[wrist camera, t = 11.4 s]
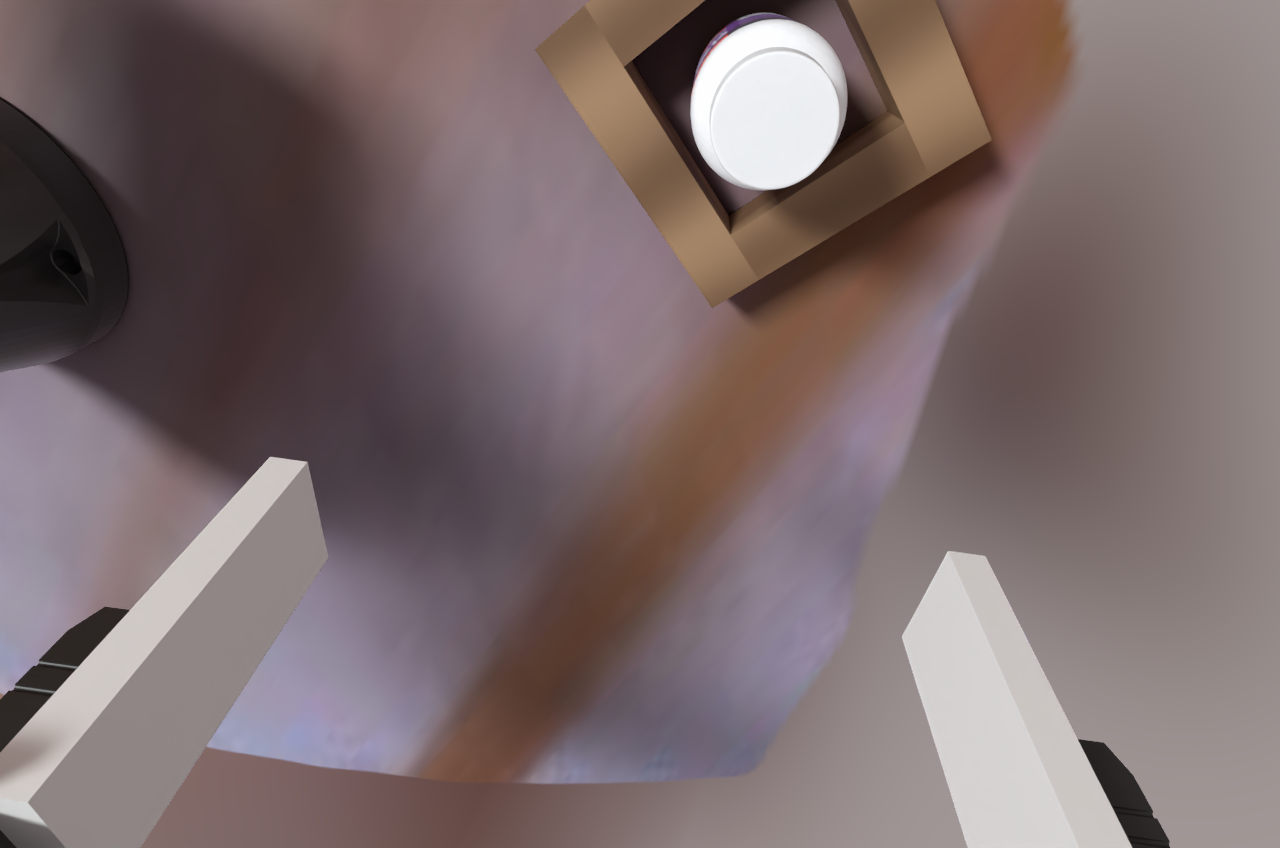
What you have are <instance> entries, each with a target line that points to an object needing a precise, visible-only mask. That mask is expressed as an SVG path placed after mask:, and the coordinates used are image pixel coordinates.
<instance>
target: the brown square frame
mask: <svg viewBox="0 0 1280 848" xmlns="http://www.w3.org/2000/svg"><path fill="white" fill-rule="evenodd" d="M704 1H705V0H590V1H589V2H588V3H587V4H586V5H584V6H583V7H582V8H581V9H580V10H579V11H578V12H577V13H575V14H574V15H573V16H572V17H571V18H570V19H569V20H568V21H566V22H565V23H564V24H563V25H562V26H561V27H560V28H559V29H557V30H556V31H555V32H554V33H553V34H552V35H551V36H550V37H548V38H547V39H546V40H545V41H544V42H543V43H542V44H541V45H539V46H538V47H537V48H536V49H535V50H536V52H537V53H538V55H539V56H540V58H541V59H542V61H543V62H544V63H545V65H546V66H547V68H548V69H549V71H550V72H551V74H552V75H553V77H554V78H555V79H556V81H557V82H558V84H559V85H560V87H561V88H562V90H563V91H564V93H565V94H566V96H567V97H568V98H569V100H570V101H571V103H572V104H573V106H574V107H575V109H576V110H577V112H578V113H579V114H580V116H581V117H582V119H583V120H584V122H585V123H586V125H587V126H588V128H589V129H590V130H591V132H592V133H593V135H594V136H595V138H596V139H597V141H598V142H599V144H600V145H601V147H602V148H603V149H604V151H605V152H606V154H607V155H608V157H609V158H610V160H611V161H612V163H613V164H614V165H615V167H616V168H617V170H618V171H619V173H620V174H621V176H622V177H623V179H624V180H625V182H626V183H627V184H628V186H629V187H630V189H631V190H632V192H633V193H634V195H635V196H636V198H637V199H638V200H639V202H640V203H641V205H642V206H643V208H644V209H645V211H646V212H647V214H648V215H649V216H650V218H651V219H652V221H653V222H654V224H655V225H656V227H657V228H658V230H659V231H660V233H661V234H662V235H663V237H664V238H665V240H666V241H667V243H668V244H669V246H670V247H671V249H672V250H673V251H674V253H675V254H676V256H677V257H678V259H679V260H680V262H681V263H682V265H683V266H684V267H685V269H686V270H687V272H688V273H689V275H690V276H691V278H692V279H693V281H694V282H695V284H696V285H697V286H698V288H699V289H700V291H701V292H702V294H703V295H704V297H705V298H706V300H707V301H708V302H709V304H710V305H711V307H712V308H713V307H715V306H717V305H718V304H720V303H722V302H723V301H725V300H727V299H728V298H730V297H732V296H733V295H735V294H736V293H738V292H740V291H741V290H743V289H745V288H746V287H748V286H750V285H751V284H753V283H755V282H756V281H758V280H760V279H761V278H763V277H765V276H766V275H768V274H770V273H771V272H773V271H775V270H776V269H778V268H780V267H781V266H783V265H785V264H786V263H788V262H790V261H791V260H793V259H795V258H796V257H798V256H800V255H801V254H803V253H805V252H806V251H808V250H810V249H811V248H813V247H815V246H816V245H818V244H820V243H821V242H823V241H825V240H826V239H828V238H830V237H831V236H833V235H835V234H836V233H838V232H840V231H841V230H843V229H845V228H846V227H848V226H850V225H851V224H853V223H855V222H856V221H858V220H860V219H861V218H863V217H865V216H866V215H868V214H870V213H871V212H873V211H875V210H876V209H878V208H880V207H881V206H883V205H885V204H886V203H888V202H889V201H891V200H893V199H894V198H896V197H898V196H899V195H901V194H903V193H904V192H906V191H908V190H909V189H911V188H913V187H914V186H916V185H918V184H919V183H921V182H923V181H924V180H926V179H928V178H929V177H931V176H933V175H934V174H936V173H938V172H939V171H941V170H943V169H944V168H946V167H948V166H949V165H951V164H953V163H954V162H956V161H958V160H959V159H961V158H963V157H964V156H966V155H968V154H969V153H971V152H973V151H974V150H976V149H978V148H979V147H981V146H983V145H984V144H986V143H988V142H989V141H991V140H992V139H991V136H990V134H989V131H988V129H987V126H986V124H985V121H984V119H983V117H982V114H981V112H980V109H979V107H978V104H977V102H976V99H975V97H974V94H973V92H972V89H971V87H970V85H969V82H968V80H967V77H966V75H965V72H964V70H963V67H962V65H961V62H960V60H959V58H958V55H957V53H956V50H955V48H954V45H953V43H952V40H951V38H950V35H949V33H948V30H947V28H946V26H945V23H944V21H943V18H942V16H941V13H940V11H939V8H938V6H937V3H936V1H935V0H836V2H837V4H838V7H839V9H840V11H841V13H842V15H843V17H844V19H845V21H846V24H847V26H848V28H849V30H850V32H851V34H852V36H853V38H854V41H855V43H856V45H857V47H858V49H859V51H860V53H861V55H862V57H863V60H864V62H865V64H866V66H867V68H868V70H869V72H870V74H871V77H872V79H873V81H874V83H875V85H876V87H877V89H878V91H879V94H880V96H881V98H882V100H883V102H884V104H885V106H886V108H887V112H886V113H884V114H883V115H881V116H880V117H878V118H877V119H875V120H874V121H872V122H871V123H869V124H868V125H866V126H864V127H863V128H861V129H860V130H858V131H857V132H855V133H854V134H852V135H851V136H849V137H848V138H846V139H845V140H843V141H842V142H840V143H839V144H837V145H836V146H834V147H833V149H832V151H831V152H830V154H829V155H828V156H827V158H826V159H825V160H824V161H823V162H822V163H821V165H820V166H819V167H818V168H817V169H816V170H815V171H814V172H813V173H812V174H810V175H809V176H808V177H806V178H805V179H803V180H801V181H800V182H798V183H796V184H793V185H791V186H788V187H785V188H781V189H774V190H767V191H766V192H764V193H763V194H761V195H760V196H758V197H757V198H755V199H753V200H752V201H750V202H749V203H747V204H746V205H744V206H743V207H741V208H740V209H738V210H737V211H735V212H734V213H732V214H731V215H728V214H727V212H726V211H725V209H724V207H723V206H722V204H721V203H720V201H719V199H718V198H717V196H716V195H715V193H714V191H713V190H712V188H711V187H710V185H709V183H708V182H707V180H706V179H705V177H704V175H703V174H702V172H701V171H700V169H699V168H698V166H697V164H696V163H695V161H694V160H693V158H692V156H691V155H690V153H689V152H688V150H687V148H686V147H685V145H684V144H683V142H682V140H681V139H680V137H679V136H678V134H677V132H676V131H675V129H674V128H673V126H672V124H671V123H670V121H669V120H668V118H667V116H666V115H665V113H664V112H663V110H662V108H661V107H660V105H659V104H658V102H657V100H656V99H655V97H654V96H653V94H652V92H651V91H650V89H649V88H648V86H647V85H646V83H645V81H644V80H643V78H642V77H641V75H640V73H639V72H638V70H637V69H636V67H635V65H634V64H633V62H632V60H633V59H634V58H635V57H637V56H638V55H639V54H640V53H641V52H643V51H644V50H645V49H646V48H648V47H649V46H650V45H651V44H652V43H654V42H655V41H656V40H657V39H659V38H660V37H661V36H662V35H663V34H665V33H666V32H667V31H668V30H670V29H671V28H672V27H673V26H674V25H676V24H677V23H678V22H679V21H681V20H682V19H683V18H684V17H685V16H687V15H688V14H689V13H690V12H692V11H693V10H694V9H695V8H696V7H698V6H699V5H700V4H701V3H703V2H704Z"/></svg>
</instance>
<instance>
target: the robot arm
mask: <svg viewBox="0 0 1280 848" xmlns="http://www.w3.org/2000/svg"><path fill="white" fill-rule="evenodd" d="M127 294H128V272H127V265H126V260H125V256H124V252H123V248H122V245H121V242H120V239H119V237H118V234H117V232H116V229H115V227H114V225H113V222H112V220H111V218H110V216H109V214H108V212H107V211H106V209H105V207H104V205H103V204H102V202H101V200H100V199H99V197H98V196H97V194H96V192H95V191H94V189H93V188H92V187H91V185H90V184H89V182H88V181H87V180H86V178H85V177H84V176H83V174H82V173H81V172H80V171H79V169H78V168H77V167H76V166H75V165H74V163H73V162H72V161H71V160H70V159H69V158H68V156H67V155H66V154H65V153H64V152H63V151H62V150H61V149H60V148H59V147H58V146H57V145H56V144H55V143H54V142H53V141H52V140H51V139H50V138H49V137H48V136H47V135H46V134H45V133H44V132H42V131H41V130H40V129H39V128H38V127H37V126H36V125H34V124H33V123H32V122H31V121H29V120H28V119H27V118H26V117H25V116H23V115H22V114H21V113H19V112H18V111H17V110H15V109H14V108H12V107H11V106H10V105H8V104H7V103H5V102H4V101H2V100H1V99H0V372H3V371H9V370H14V369H20V368H25V367H30V366H36V365H41V364H46V363H50V362H54V361H57V360H60V359H63V358H65V357H68V356H70V355H72V354H74V353H76V352H77V351H79V350H81V349H83V348H85V347H86V346H88V345H90V344H92V343H94V342H95V341H97V340H99V339H101V338H102V337H103V336H105V335H106V334H107V333H108V332H110V331H111V330H112V329H113V327H114V326H115V325H116V324H117V322H118V321H119V319H120V317H121V315H122V313H123V310H124V308H125V304H126V300H127ZM327 559H328V553H327V549H326V544H325V540H324V535H323V531H322V526H321V521H320V517H319V512H318V508H317V503H316V498H315V494H314V489H313V485H312V480H311V475H310V471H309V466H308V462H305V461H298V460H290V459H283V458H276V457H269V458H268V459H267V461H266V462H265V463H264V464H263V465H262V466H261V467H260V468H259V469H258V470H257V472H256V473H255V474H254V475H253V476H252V477H251V478H250V479H249V480H248V481H247V482H246V484H245V485H244V486H243V487H242V488H241V489H240V490H239V491H238V492H237V493H236V495H235V496H234V497H233V498H232V499H231V500H230V501H229V502H228V503H227V504H226V506H225V507H224V508H223V509H222V510H221V511H220V512H219V513H218V514H217V515H216V516H215V518H214V519H213V520H212V521H211V522H210V523H209V524H208V525H207V526H206V527H205V529H204V530H203V531H202V532H201V533H200V534H199V535H198V536H197V537H196V538H195V540H194V541H193V542H192V543H191V544H190V545H189V546H188V547H187V548H186V549H185V550H184V552H183V553H182V554H181V555H180V556H179V557H178V558H177V559H176V560H175V561H174V563H173V564H172V565H171V566H170V567H169V568H168V569H167V570H166V571H165V572H164V574H163V575H162V576H161V577H160V578H159V579H158V580H157V581H156V582H155V583H154V584H153V586H152V587H151V588H150V589H149V590H148V591H147V592H146V593H145V594H144V595H143V597H142V598H141V599H140V600H139V601H138V602H137V603H136V604H135V605H134V606H133V608H132V609H131V610H125V609H118V608H111V607H104V608H102V609H101V610H99V611H98V612H96V613H95V614H93V615H92V616H90V617H88V618H87V619H85V620H84V621H82V622H81V623H79V624H77V625H76V626H74V627H73V628H71V629H70V630H68V631H67V632H66V633H65V634H64V635H63V636H62V637H61V638H60V639H59V640H58V641H57V642H56V643H55V644H54V645H53V646H52V647H51V648H50V649H49V650H48V651H47V652H46V653H45V654H44V655H43V657H42V658H41V659H40V660H39V664H38V665H37V666H33V667H32V668H31V669H30V670H29V671H28V672H27V673H26V674H25V675H24V676H23V677H22V678H21V679H20V680H19V681H18V682H17V683H16V684H15V688H14V690H12V691H8V692H7V693H6V694H5V695H4V696H3V697H2V699H0V848H141V846H142V844H143V843H144V841H145V840H146V838H147V836H148V835H149V834H150V832H151V831H152V829H153V827H154V826H155V824H156V823H157V821H158V820H159V818H160V817H161V815H162V814H163V812H164V811H165V809H166V807H167V806H168V804H169V803H170V801H171V800H172V798H173V797H174V795H175V794H176V792H177V790H178V789H179V787H180V786H181V784H182V783H183V781H184V780H185V778H186V777H187V775H188V773H189V772H190V770H191V769H192V767H193V766H194V764H195V763H196V761H197V760H198V758H199V756H200V755H201V753H202V752H203V750H204V749H205V747H206V746H207V744H208V743H209V741H210V740H211V738H212V736H213V735H214V733H215V732H216V730H217V729H218V727H219V726H220V724H221V723H222V721H223V719H224V718H225V716H226V715H227V713H228V712H229V710H230V709H231V707H232V706H233V704H234V703H235V701H236V699H237V698H238V696H239V695H240V693H241V692H242V690H243V689H244V687H245V686H246V684H247V682H248V681H249V679H250V678H251V676H252V675H253V673H254V672H255V670H256V669H257V667H258V665H259V664H260V662H261V661H262V659H263V658H264V656H265V655H266V653H267V652H268V650H269V649H270V647H271V645H272V644H273V642H274V641H275V639H276V638H277V636H278V635H279V633H280V632H281V630H282V628H283V627H284V625H285V624H286V622H287V621H288V619H289V618H290V616H291V615H292V613H293V611H294V610H295V608H296V607H297V605H298V604H299V602H300V601H301V599H302V598H303V596H304V595H305V593H306V591H307V590H308V588H309V587H310V585H311V584H312V582H313V581H314V579H315V578H316V576H317V574H318V573H319V571H320V570H321V568H322V567H323V565H324V564H325V562H326V561H327ZM902 640H903V643H904V646H905V649H906V653H907V656H908V659H909V662H910V665H911V668H912V672H913V675H914V678H915V681H916V684H917V688H918V691H919V694H920V697H921V701H922V704H923V707H924V710H925V713H926V716H927V719H928V722H929V726H930V729H931V732H932V736H933V739H934V742H935V745H936V748H937V751H938V755H939V758H940V761H941V764H942V768H943V771H944V774H945V777H946V780H947V784H948V787H949V790H950V793H951V796H952V800H953V803H954V806H955V809H956V812H957V815H958V819H959V822H960V825H961V828H962V832H963V835H964V838H965V841H966V844H967V848H1170V847H1169V840H1168V838H1167V836H1166V834H1165V833H1164V831H1163V829H1162V827H1161V825H1160V823H1159V821H1158V820H1157V819H1155V818H1154V817H1153V815H1152V813H1153V811H1152V809H1151V807H1150V805H1149V803H1148V802H1147V800H1146V798H1145V796H1144V794H1143V792H1142V791H1141V789H1140V787H1139V785H1138V783H1137V782H1136V780H1135V778H1134V776H1133V775H1132V774H1131V773H1130V772H1129V770H1128V769H1127V768H1126V767H1125V766H1124V765H1123V764H1122V763H1121V761H1120V760H1119V759H1118V758H1117V757H1116V756H1115V755H1114V754H1113V752H1112V751H1111V750H1110V749H1109V748H1108V747H1107V746H1106V745H1105V744H1104V743H1100V742H1093V741H1086V740H1078V739H1077V737H1076V735H1075V733H1074V731H1073V729H1072V727H1071V725H1070V723H1069V721H1068V719H1067V717H1066V715H1065V713H1064V711H1063V709H1062V707H1061V705H1060V703H1059V701H1058V700H1057V697H1056V695H1055V693H1054V691H1053V689H1052V687H1051V685H1050V683H1049V682H1048V679H1047V678H1046V675H1045V673H1044V671H1043V670H1042V667H1041V666H1040V664H1039V662H1038V660H1037V658H1036V656H1035V654H1034V652H1033V650H1032V648H1031V646H1030V644H1029V642H1028V640H1027V638H1026V636H1025V634H1024V632H1023V630H1022V628H1021V626H1020V624H1019V622H1018V620H1017V618H1016V616H1015V614H1014V612H1013V610H1012V608H1011V606H1010V604H1009V602H1008V600H1007V598H1006V596H1005V594H1004V592H1003V590H1002V589H1001V586H1000V584H999V582H998V580H997V578H996V576H995V574H994V572H993V570H992V569H991V566H990V564H989V563H988V561H987V558H986V557H985V556H981V555H974V554H967V553H959V552H953V551H948V552H947V554H946V556H945V558H944V560H943V561H942V563H941V565H940V567H939V569H938V571H937V572H936V574H935V576H934V578H933V580H932V582H931V583H930V585H929V587H928V589H927V591H926V593H925V595H924V596H923V598H922V600H921V602H920V604H919V606H918V608H917V610H916V611H915V613H914V615H913V617H912V619H911V620H910V623H909V624H908V626H907V628H906V630H905V632H904V634H903V635H902Z"/></svg>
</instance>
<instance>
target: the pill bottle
mask: <svg viewBox="0 0 1280 848" xmlns="http://www.w3.org/2000/svg"><path fill="white" fill-rule="evenodd" d="M846 111H847V83H846V78H845V73H844V70H843V67H842V64H841V62H840V60H839V58H838V56H837V54H836V53H835V51H834V50H833V48H832V47H831V46H830V45H829V43H828V42H827V41H826V40H825V39H824V38H823V37H822V36H821V35H819V34H818V33H817V32H815V31H814V30H813V29H811V28H810V27H808V26H806V25H804V24H802V23H799V22H797V21H795V20H792V19H790V18H788V17H785V16H782V15H779V14H775V13H754V14H749V15H746V16H743V17H740V18H738V19H736V20H734V21H732V22H731V23H729V24H728V25H726V26H725V27H724V28H722V29H721V30H720V31H719V32H718V33H717V34H716V35H715V36H714V37H713V38H712V40H711V41H710V42H709V44H708V45H707V47H706V48H705V50H704V51H703V53H702V56H701V58H700V60H699V63H698V66H697V69H696V73H695V78H694V84H693V89H692V94H691V102H690V114H691V124H692V131H693V135H694V139H695V142H696V144H697V147H698V149H699V151H700V153H701V155H702V156H703V158H704V159H705V161H706V162H707V164H708V165H709V166H710V167H711V168H712V169H713V170H714V171H715V172H716V173H717V174H718V175H719V176H721V177H722V178H723V179H725V180H726V181H728V182H730V183H732V184H734V185H736V186H739V187H742V188H746V189H751V190H762V191H763V190H774V189H781V188H785V187H788V186H791V185H793V184H796V183H798V182H800V181H801V180H803V179H805V178H806V177H808V176H809V175H810V174H812V173H813V172H814V171H815V170H816V169H817V168H818V167H819V166H820V165H821V163H822V162H823V161H824V160H825V159H826V158H827V156H828V155H829V154H830V152H831V151H832V149H833V147H834V146H835V144H836V142H837V140H838V138H839V136H840V134H841V131H842V128H843V125H844V121H845V117H846Z"/></svg>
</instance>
